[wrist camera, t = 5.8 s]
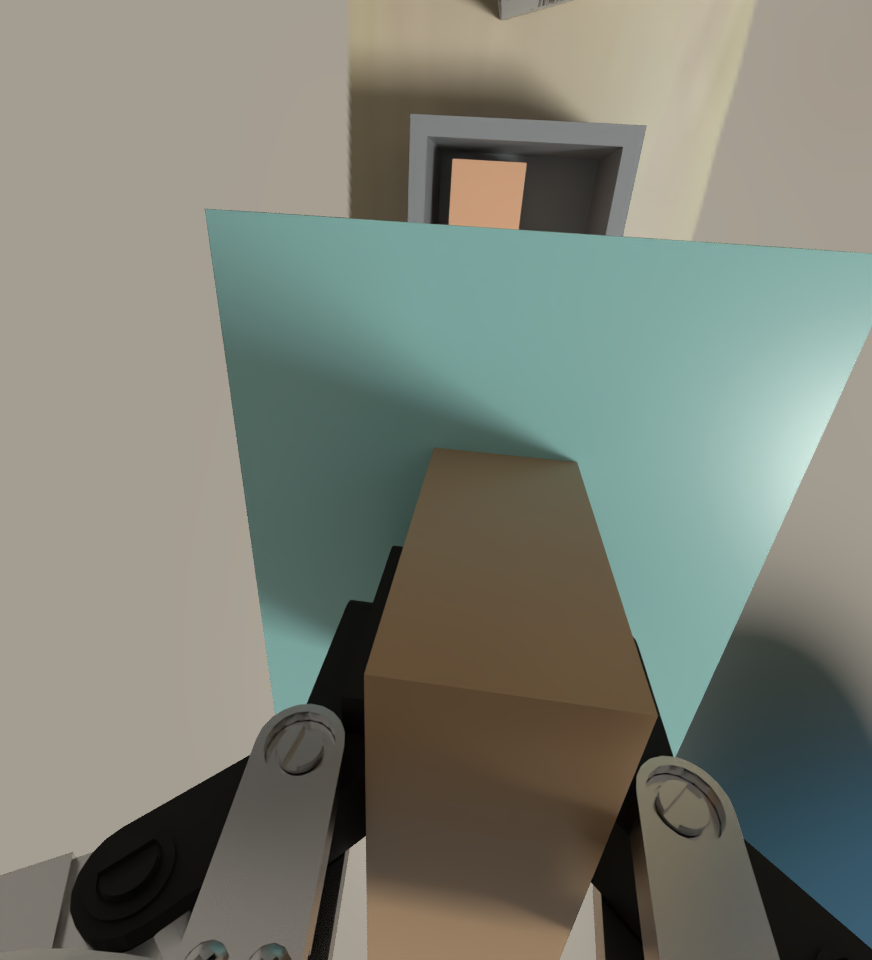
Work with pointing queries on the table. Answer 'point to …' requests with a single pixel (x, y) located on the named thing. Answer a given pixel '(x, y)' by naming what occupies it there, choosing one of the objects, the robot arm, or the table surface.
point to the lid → (515, 519)
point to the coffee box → (523, 6)
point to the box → (522, 173)
